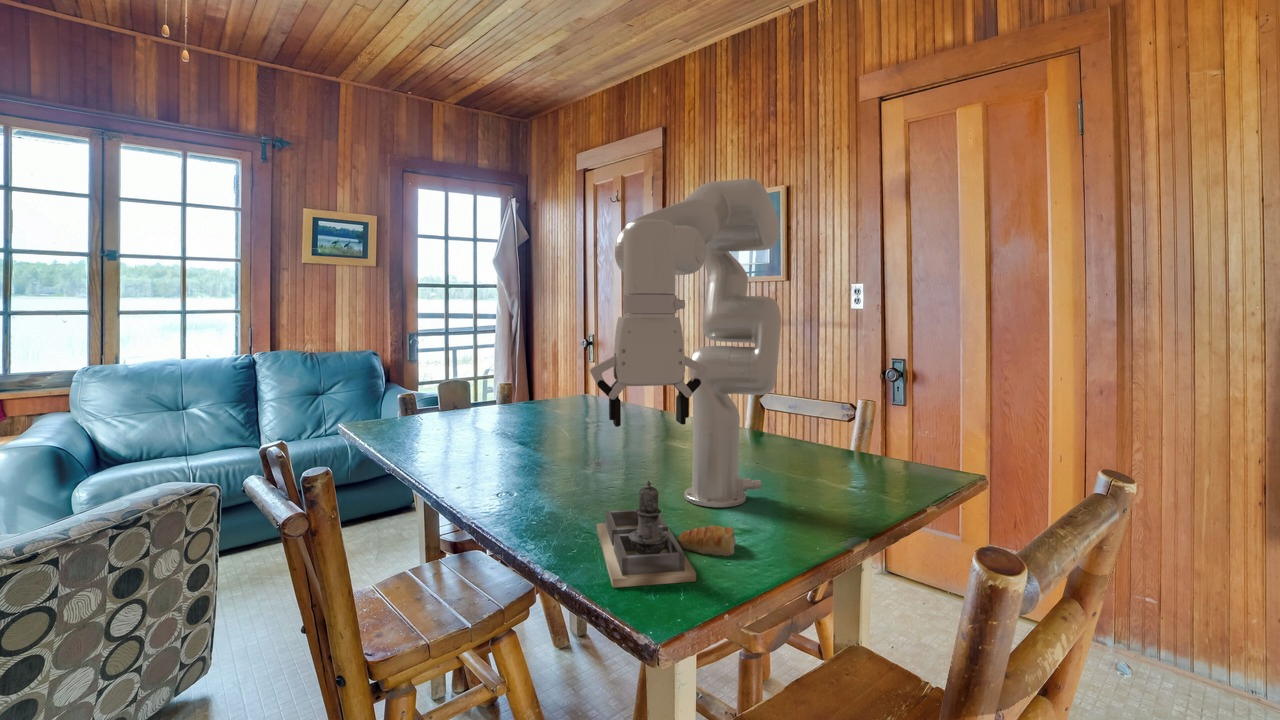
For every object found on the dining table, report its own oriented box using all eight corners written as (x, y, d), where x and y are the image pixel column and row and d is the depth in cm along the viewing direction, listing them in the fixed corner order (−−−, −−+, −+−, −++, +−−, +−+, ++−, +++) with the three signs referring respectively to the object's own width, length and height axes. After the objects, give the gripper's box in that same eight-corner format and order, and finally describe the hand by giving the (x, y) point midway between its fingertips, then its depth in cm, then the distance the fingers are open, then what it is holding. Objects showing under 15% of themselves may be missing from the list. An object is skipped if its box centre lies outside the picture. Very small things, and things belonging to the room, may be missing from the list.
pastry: (675, 554, 94) (676, 531, 94) (680, 539, 101) (680, 517, 100) (735, 559, 92) (735, 535, 92) (735, 543, 99) (736, 520, 99)
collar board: (663, 526, 106) (663, 506, 105) (696, 581, 84) (696, 556, 84) (596, 530, 103) (596, 509, 103) (612, 587, 82) (612, 561, 82)
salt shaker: (664, 569, 85) (665, 487, 84) (624, 565, 86) (625, 485, 85) (670, 553, 91) (671, 476, 90) (633, 549, 92) (633, 474, 91)
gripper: (699, 307, 90) (698, 417, 92) (587, 307, 87) (588, 421, 89) (714, 307, 83) (712, 427, 85) (592, 307, 80) (593, 431, 82)
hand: (649, 423), depth 87 cm, fingers open, 9 cm apart
